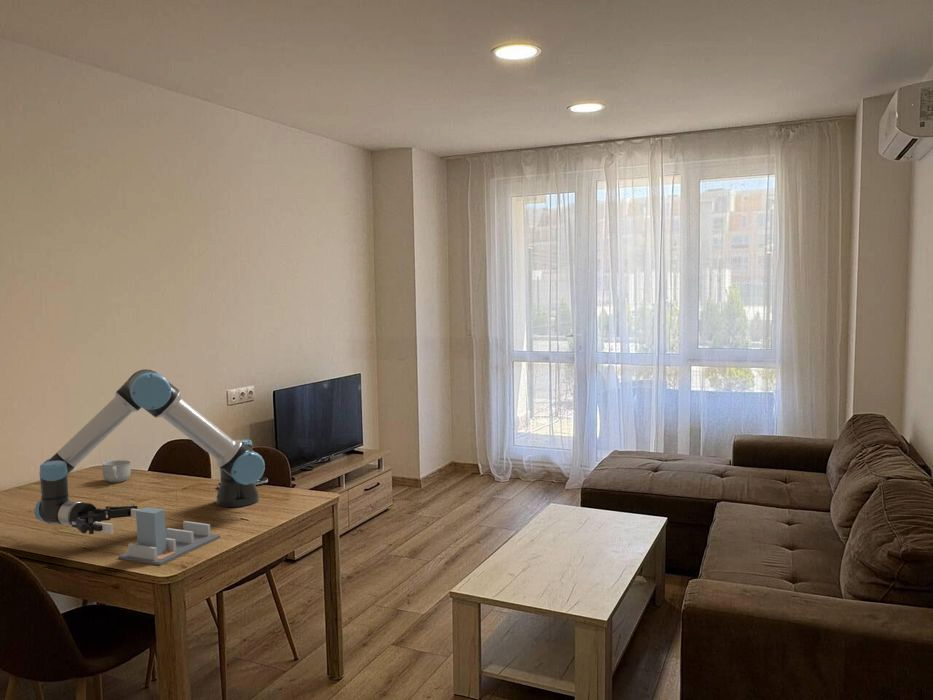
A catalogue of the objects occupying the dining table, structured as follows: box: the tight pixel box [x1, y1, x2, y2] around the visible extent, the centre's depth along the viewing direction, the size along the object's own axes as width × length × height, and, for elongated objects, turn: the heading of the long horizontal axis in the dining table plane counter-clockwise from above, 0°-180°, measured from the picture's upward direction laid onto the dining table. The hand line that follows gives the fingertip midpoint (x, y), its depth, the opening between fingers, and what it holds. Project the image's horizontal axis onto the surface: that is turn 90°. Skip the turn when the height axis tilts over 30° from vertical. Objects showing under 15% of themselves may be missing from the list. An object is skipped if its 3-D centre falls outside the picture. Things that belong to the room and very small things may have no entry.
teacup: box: [101, 459, 132, 483], centre depth 303 cm, size 14×11×8 cm
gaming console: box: [217, 476, 269, 488], centre depth 296 cm, size 19×9×2 cm, turn 122°
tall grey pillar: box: [135, 506, 167, 556], centre depth 217 cm, size 4×7×13 cm, turn 69°
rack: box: [118, 520, 221, 566], centre depth 225 cm, size 25×16×4 cm, turn 158°
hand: (130, 521), depth 220 cm, fingers open, 13 cm apart
